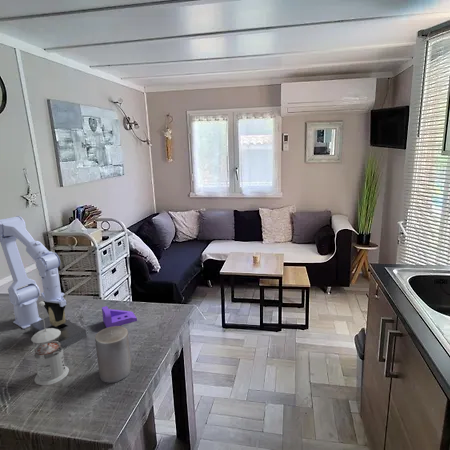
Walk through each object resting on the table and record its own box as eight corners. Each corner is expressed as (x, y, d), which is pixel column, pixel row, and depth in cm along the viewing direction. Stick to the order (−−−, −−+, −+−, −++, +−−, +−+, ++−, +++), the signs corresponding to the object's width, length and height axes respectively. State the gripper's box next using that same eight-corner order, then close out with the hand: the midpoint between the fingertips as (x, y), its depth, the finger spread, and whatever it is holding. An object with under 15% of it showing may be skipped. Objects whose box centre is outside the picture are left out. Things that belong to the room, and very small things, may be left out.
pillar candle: (106, 362, 111) (101, 322, 108) (135, 362, 111) (131, 322, 107) (94, 383, 102) (88, 339, 98) (126, 383, 101) (121, 339, 98)
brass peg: (50, 323, 128) (47, 306, 127) (60, 319, 131) (58, 302, 130) (55, 326, 126) (53, 309, 125) (65, 322, 129) (63, 305, 128)
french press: (45, 389, 99) (33, 312, 94) (24, 376, 105) (12, 303, 100) (75, 371, 107) (65, 299, 102) (54, 359, 113) (44, 291, 108)
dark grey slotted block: (31, 331, 132) (30, 324, 131) (56, 320, 140) (55, 314, 139) (61, 349, 119) (60, 342, 118) (86, 336, 127) (85, 329, 126)
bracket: (107, 329, 132) (105, 314, 131) (103, 322, 138) (101, 307, 137) (137, 321, 138) (135, 306, 137) (132, 314, 144) (131, 300, 143)
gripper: (72, 286, 124) (76, 319, 127) (52, 278, 132) (56, 309, 135) (53, 292, 118) (58, 327, 121) (33, 284, 127) (38, 317, 130)
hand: (56, 318), depth 128 cm, fingers closed on brass peg, 4 cm apart
